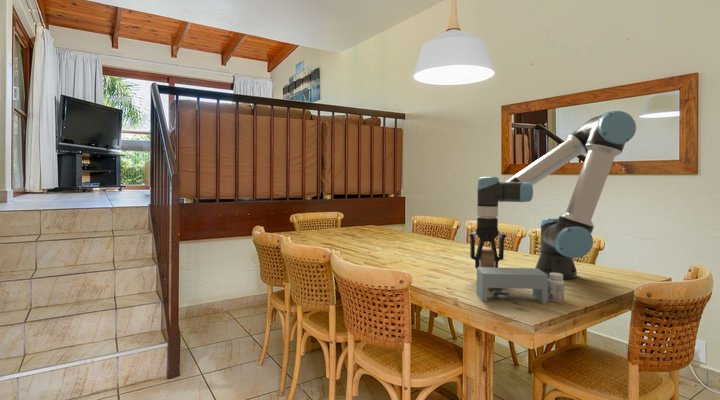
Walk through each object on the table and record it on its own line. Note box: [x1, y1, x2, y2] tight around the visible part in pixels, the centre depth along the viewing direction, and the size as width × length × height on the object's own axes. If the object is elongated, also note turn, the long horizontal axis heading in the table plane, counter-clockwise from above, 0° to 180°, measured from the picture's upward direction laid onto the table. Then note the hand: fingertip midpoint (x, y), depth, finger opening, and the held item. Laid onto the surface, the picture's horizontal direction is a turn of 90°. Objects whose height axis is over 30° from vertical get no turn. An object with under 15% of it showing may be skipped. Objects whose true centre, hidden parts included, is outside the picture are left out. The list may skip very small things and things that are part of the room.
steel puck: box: [492, 289, 510, 301], centre depth 127 cm, size 5×5×2 cm
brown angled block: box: [480, 248, 504, 292], centre depth 142 cm, size 17×5×12 cm, turn 174°
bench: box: [476, 267, 549, 304], centre depth 126 cm, size 20×9×9 cm, turn 84°
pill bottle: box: [547, 273, 565, 302], centre depth 125 cm, size 5×5×8 cm
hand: (486, 277), depth 148 cm, fingers closed on brown angled block, 4 cm apart
